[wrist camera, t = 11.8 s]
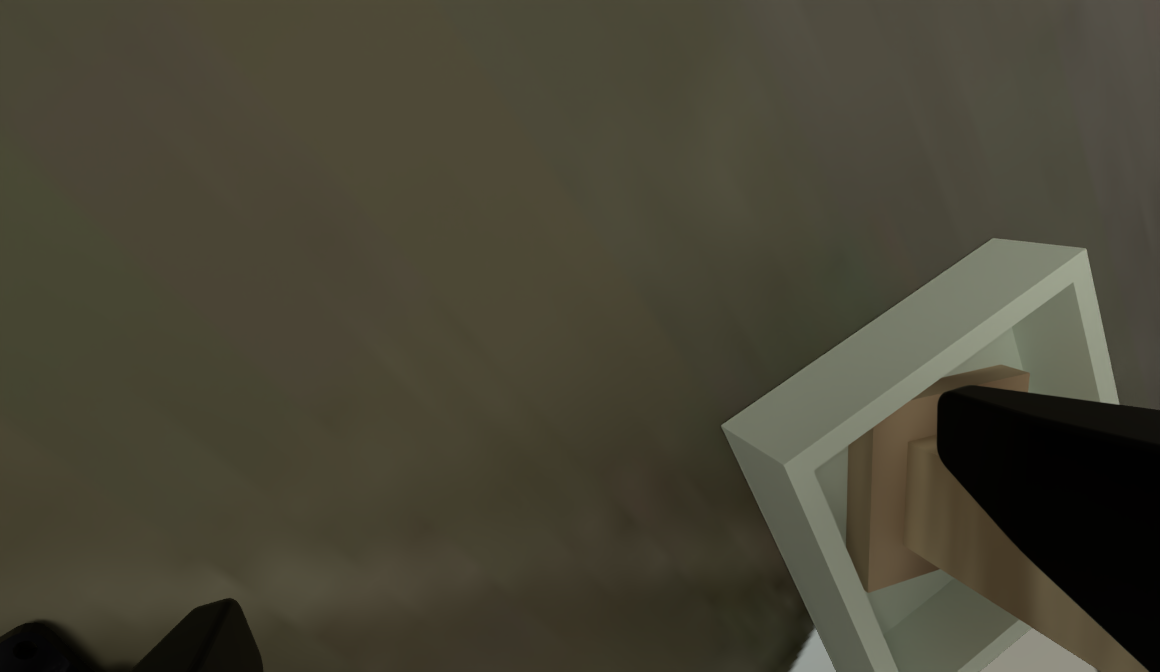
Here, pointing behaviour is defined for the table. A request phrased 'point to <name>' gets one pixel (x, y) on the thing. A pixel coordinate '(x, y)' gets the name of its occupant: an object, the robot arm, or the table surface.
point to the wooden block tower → (953, 526)
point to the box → (876, 390)
